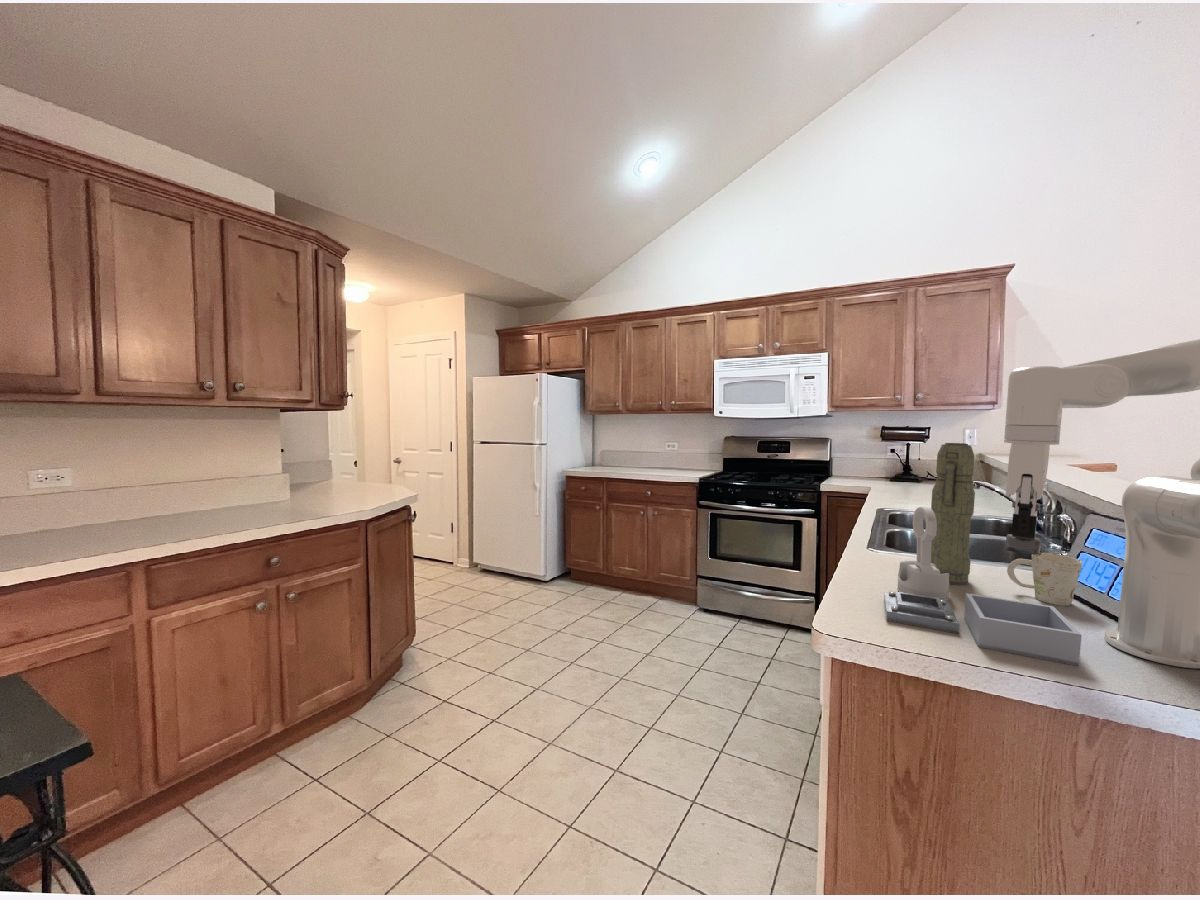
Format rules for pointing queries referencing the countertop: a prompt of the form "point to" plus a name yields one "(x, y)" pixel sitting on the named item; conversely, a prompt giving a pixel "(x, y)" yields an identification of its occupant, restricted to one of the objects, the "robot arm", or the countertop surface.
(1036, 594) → the mug
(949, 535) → the green moai statue
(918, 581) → the engine component
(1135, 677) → the countertop surface
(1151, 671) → the countertop surface
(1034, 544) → the dark topped cylinder
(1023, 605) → the bin
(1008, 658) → the countertop surface
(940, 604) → the mount plate
